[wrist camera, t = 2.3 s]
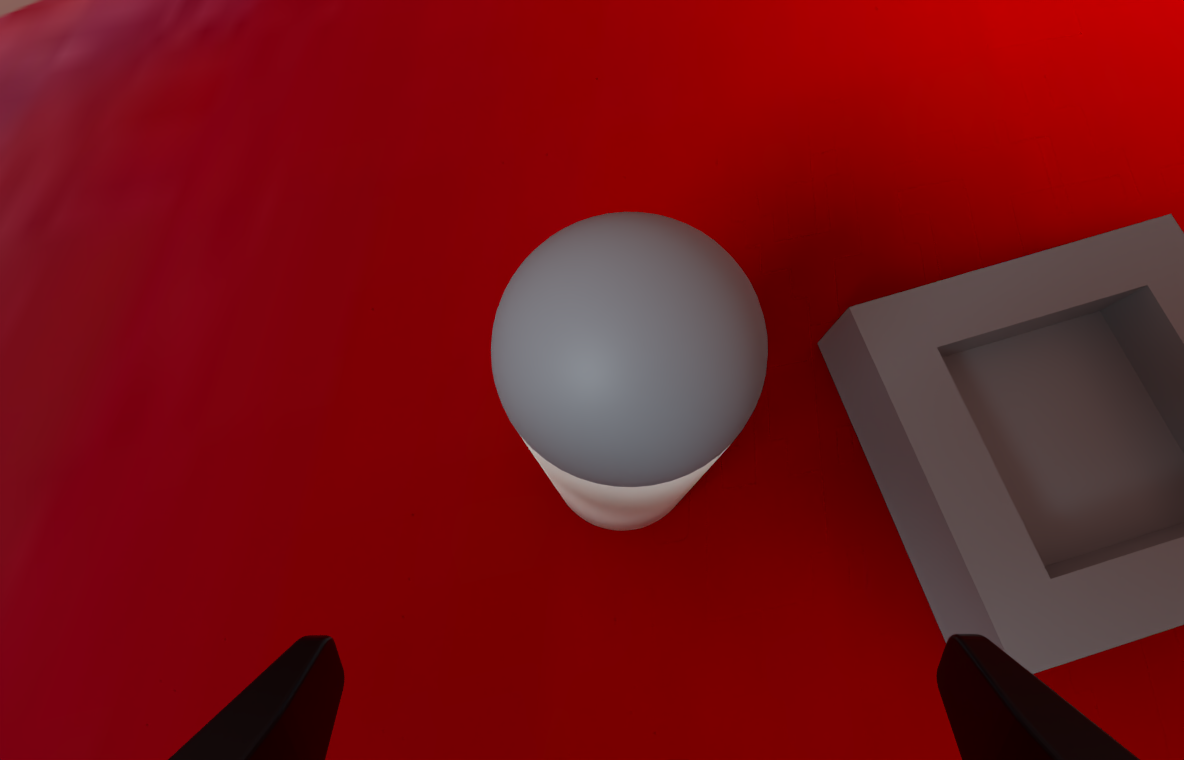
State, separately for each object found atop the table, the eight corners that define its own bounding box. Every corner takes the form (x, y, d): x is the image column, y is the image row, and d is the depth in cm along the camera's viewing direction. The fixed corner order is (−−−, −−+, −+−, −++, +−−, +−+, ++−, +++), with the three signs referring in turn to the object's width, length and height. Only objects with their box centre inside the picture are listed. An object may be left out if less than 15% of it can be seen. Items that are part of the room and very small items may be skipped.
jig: (1275, 558, 20) (1394, 555, 17) (954, 662, 19) (1017, 678, 16) (1097, 261, 23) (1170, 213, 20) (817, 343, 23) (849, 307, 20)
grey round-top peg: (710, 506, 21) (858, 403, 8) (573, 548, 21) (507, 508, 8) (665, 376, 23) (733, 115, 10) (536, 413, 22) (430, 197, 9)
